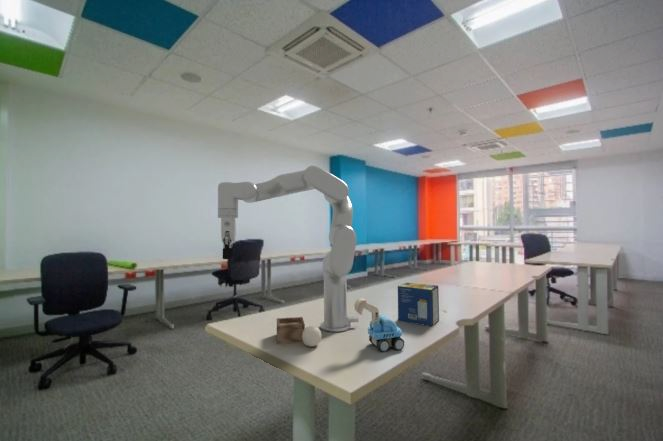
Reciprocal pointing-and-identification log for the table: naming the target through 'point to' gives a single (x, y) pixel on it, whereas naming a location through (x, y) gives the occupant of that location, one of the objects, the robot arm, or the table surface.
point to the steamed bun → (311, 336)
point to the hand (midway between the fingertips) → (227, 257)
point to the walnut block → (290, 330)
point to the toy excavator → (381, 328)
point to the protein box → (418, 303)
